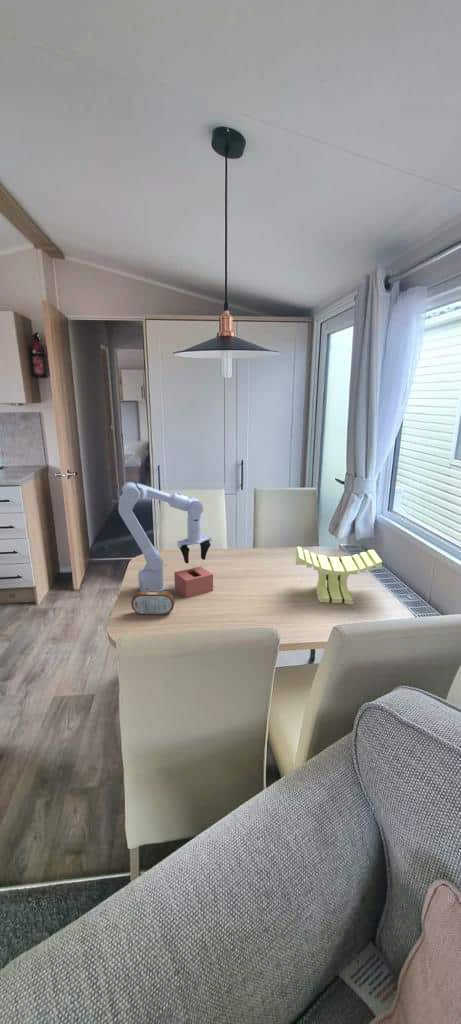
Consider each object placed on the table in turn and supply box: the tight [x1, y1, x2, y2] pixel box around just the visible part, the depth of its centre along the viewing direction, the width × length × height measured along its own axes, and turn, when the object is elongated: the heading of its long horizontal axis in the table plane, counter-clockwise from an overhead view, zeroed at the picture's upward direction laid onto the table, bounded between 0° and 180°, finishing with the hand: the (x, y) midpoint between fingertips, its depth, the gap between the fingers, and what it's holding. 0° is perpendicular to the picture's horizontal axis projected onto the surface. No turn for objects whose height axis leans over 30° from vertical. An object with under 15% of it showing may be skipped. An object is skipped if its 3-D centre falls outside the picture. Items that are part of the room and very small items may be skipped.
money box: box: [173, 566, 214, 598], centre depth 173 cm, size 12×10×7 cm
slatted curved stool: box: [295, 546, 383, 605], centre depth 170 cm, size 30×16×18 cm, turn 85°
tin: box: [131, 590, 176, 616], centre depth 153 cm, size 15×3×8 cm, turn 92°
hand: (194, 560), depth 176 cm, fingers open, 7 cm apart
